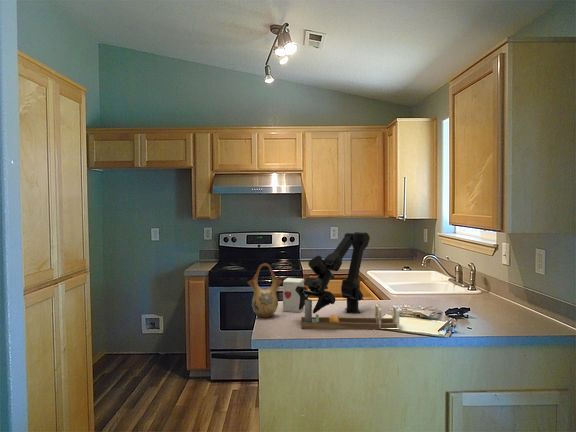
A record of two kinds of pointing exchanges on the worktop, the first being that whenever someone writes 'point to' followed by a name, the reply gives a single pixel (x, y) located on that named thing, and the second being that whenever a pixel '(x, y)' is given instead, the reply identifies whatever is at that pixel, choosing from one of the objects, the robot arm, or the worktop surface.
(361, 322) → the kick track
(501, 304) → the worktop surface
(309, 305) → the striker sled
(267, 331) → the worktop surface
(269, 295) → the ceramic vessel
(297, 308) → the supplement box
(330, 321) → the orange ball
